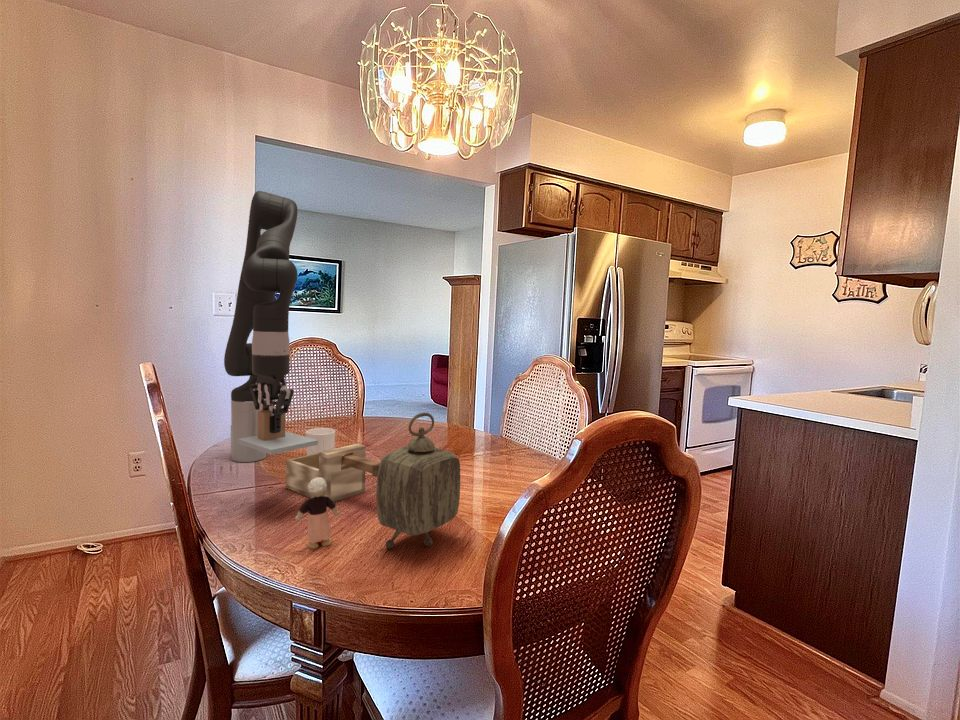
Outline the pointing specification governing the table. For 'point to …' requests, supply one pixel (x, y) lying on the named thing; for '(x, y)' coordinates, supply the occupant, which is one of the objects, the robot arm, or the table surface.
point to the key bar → (361, 464)
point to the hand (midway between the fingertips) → (271, 431)
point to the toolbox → (327, 472)
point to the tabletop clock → (417, 487)
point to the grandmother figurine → (317, 514)
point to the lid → (275, 437)
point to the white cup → (321, 440)
